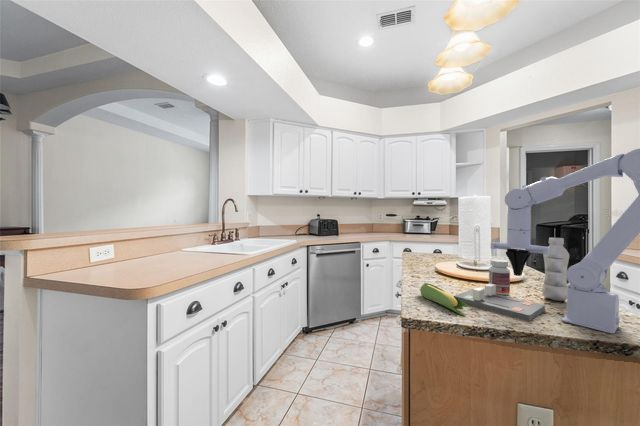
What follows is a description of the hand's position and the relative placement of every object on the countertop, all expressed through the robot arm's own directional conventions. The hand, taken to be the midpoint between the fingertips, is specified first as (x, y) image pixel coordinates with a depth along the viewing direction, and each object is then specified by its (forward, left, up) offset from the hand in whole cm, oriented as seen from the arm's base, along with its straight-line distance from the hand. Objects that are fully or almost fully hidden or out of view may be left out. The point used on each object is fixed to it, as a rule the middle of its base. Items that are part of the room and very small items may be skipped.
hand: (517, 275), depth 83 cm
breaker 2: (+7, 0, -8) cm, 11 cm away
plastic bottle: (-5, -17, -10) cm, 20 cm away
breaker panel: (+4, +4, -9) cm, 11 cm away
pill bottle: (+9, -11, -10) cm, 17 cm away
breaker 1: (+8, +8, -8) cm, 13 cm away
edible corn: (+14, +17, -10) cm, 24 cm away
